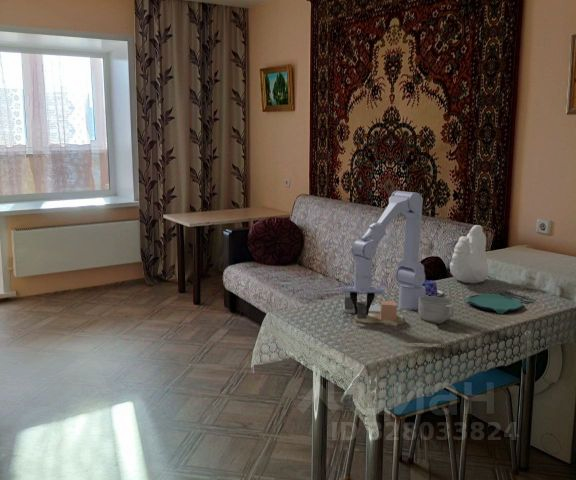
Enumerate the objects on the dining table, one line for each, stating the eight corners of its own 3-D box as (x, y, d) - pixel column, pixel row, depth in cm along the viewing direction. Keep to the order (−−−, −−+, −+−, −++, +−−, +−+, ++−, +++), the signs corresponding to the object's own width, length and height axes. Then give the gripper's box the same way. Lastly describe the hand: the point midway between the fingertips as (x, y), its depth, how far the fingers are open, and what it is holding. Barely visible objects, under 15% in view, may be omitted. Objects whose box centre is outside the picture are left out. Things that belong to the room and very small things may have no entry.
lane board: (392, 310, 212) (392, 307, 212) (396, 328, 193) (397, 325, 192) (343, 308, 214) (343, 305, 214) (342, 326, 194) (342, 323, 194)
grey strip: (387, 308, 211) (387, 294, 210) (388, 314, 204) (389, 299, 203) (343, 306, 212) (343, 292, 211) (343, 312, 205) (343, 297, 204)
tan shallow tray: (401, 317, 200) (402, 302, 199) (403, 324, 194) (404, 308, 193) (355, 315, 202) (355, 300, 201) (355, 322, 195) (356, 306, 194)
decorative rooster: (466, 274, 266) (470, 221, 262) (496, 281, 254) (500, 225, 249) (430, 282, 252) (433, 226, 247) (460, 290, 239) (464, 231, 235)
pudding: (410, 296, 231) (411, 283, 230) (414, 288, 243) (415, 276, 242) (441, 299, 228) (442, 286, 227) (444, 291, 239) (444, 279, 238)
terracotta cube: (394, 315, 200) (395, 301, 199) (396, 320, 195) (396, 305, 194) (380, 314, 200) (380, 300, 199) (380, 319, 195) (381, 305, 194)
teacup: (411, 318, 204) (412, 296, 202) (437, 314, 207) (438, 293, 206) (434, 330, 191) (436, 307, 189) (462, 327, 195) (463, 304, 193)
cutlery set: (455, 304, 221) (456, 298, 221) (501, 293, 239) (502, 287, 238) (501, 318, 205) (502, 312, 205) (547, 305, 223) (548, 299, 223)
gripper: (341, 277, 192) (340, 316, 195) (385, 279, 191) (383, 318, 193) (341, 272, 199) (340, 310, 202) (383, 273, 198) (382, 312, 200)
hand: (361, 313), depth 198 cm, fingers closed on tan shallow tray, 3 cm apart
